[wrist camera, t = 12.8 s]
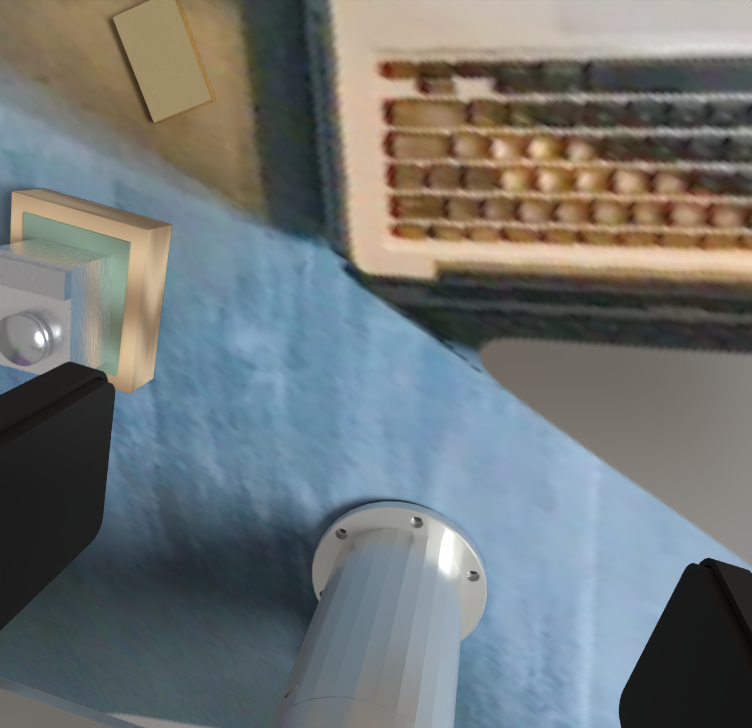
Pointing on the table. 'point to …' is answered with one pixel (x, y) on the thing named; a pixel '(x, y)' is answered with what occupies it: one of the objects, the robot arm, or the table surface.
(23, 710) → the robot arm
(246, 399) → the table surface
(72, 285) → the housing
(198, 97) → the cover plate
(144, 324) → the picture frame
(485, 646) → the table surface
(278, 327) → the table surface
